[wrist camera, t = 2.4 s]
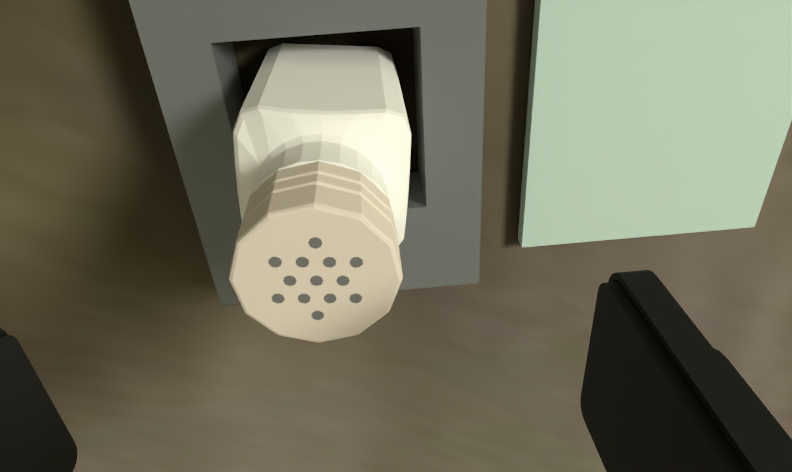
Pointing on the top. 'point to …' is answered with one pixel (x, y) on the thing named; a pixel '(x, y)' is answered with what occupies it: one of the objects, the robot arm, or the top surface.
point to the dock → (315, 15)
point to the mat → (652, 116)
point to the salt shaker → (321, 190)
